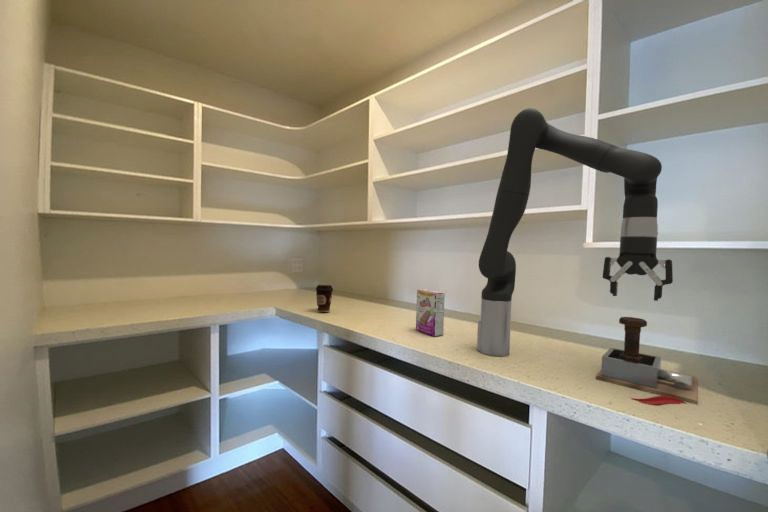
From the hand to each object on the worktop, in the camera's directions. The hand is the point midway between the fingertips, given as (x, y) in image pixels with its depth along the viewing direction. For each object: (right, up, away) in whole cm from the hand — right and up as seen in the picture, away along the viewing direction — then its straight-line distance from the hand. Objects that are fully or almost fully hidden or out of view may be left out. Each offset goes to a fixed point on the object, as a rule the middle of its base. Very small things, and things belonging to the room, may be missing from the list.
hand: (634, 298), depth 85 cm
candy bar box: (-48, -19, +42) cm, 67 cm away
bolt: (-1, -21, 0) cm, 21 cm away
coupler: (+4, -21, +1) cm, 21 cm away
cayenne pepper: (-4, -22, -12) cm, 26 cm away
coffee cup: (-96, -17, +80) cm, 126 cm away
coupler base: (+4, -22, +1) cm, 22 cm away
